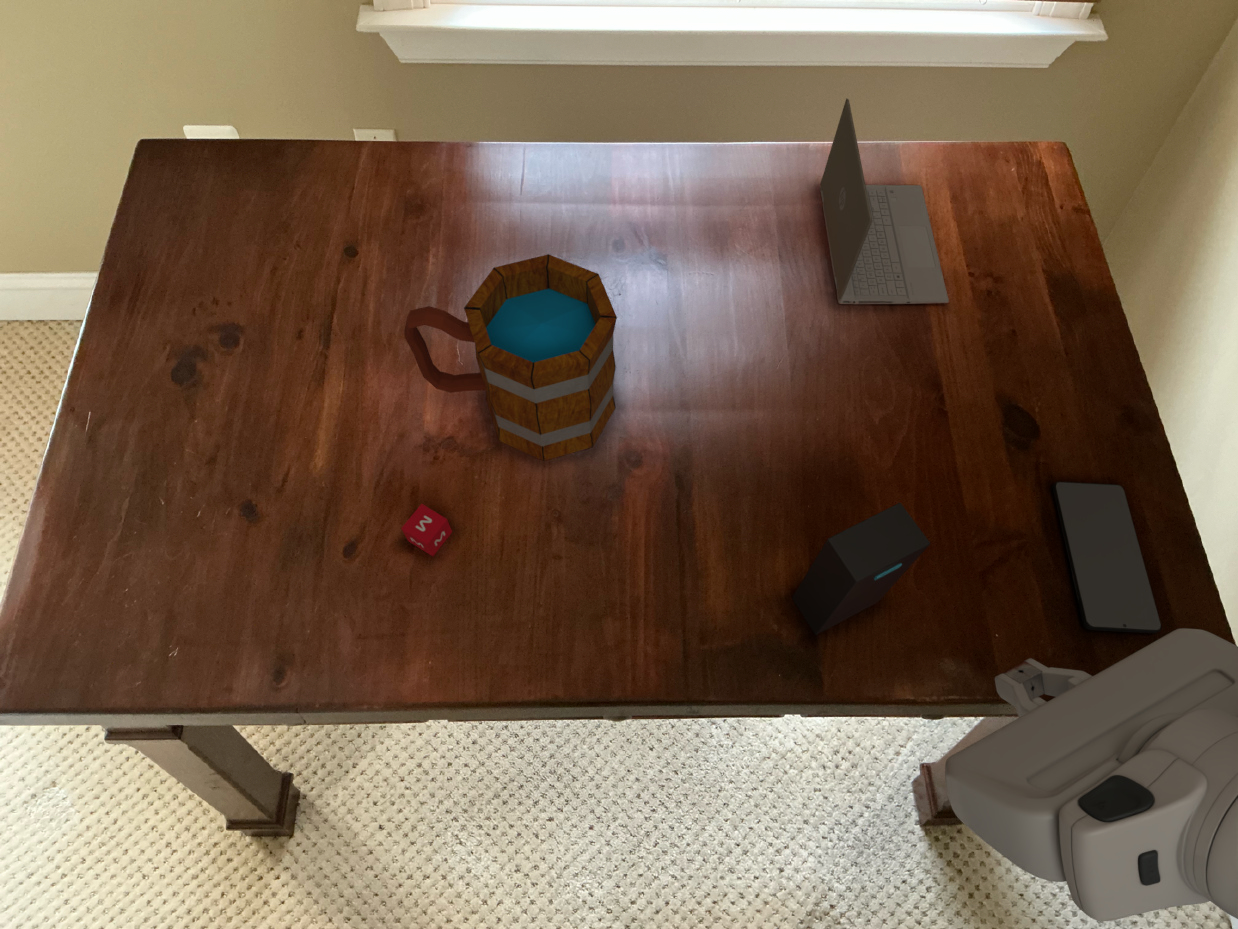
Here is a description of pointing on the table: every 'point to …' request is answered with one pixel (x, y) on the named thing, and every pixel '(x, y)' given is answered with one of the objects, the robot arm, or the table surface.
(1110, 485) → the smartphone
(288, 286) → the table surface
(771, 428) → the table surface
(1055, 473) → the table surface
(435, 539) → the dice
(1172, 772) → the robot arm
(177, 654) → the table surface
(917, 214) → the laptop
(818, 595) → the black power bank
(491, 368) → the mug
